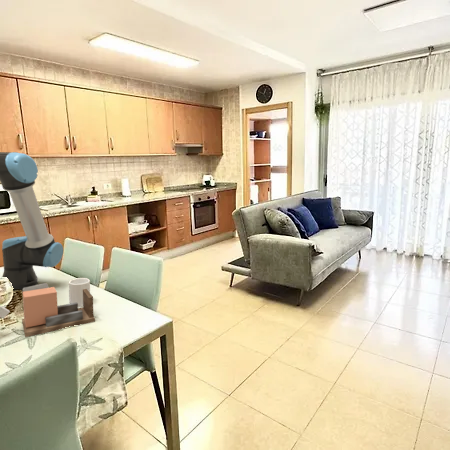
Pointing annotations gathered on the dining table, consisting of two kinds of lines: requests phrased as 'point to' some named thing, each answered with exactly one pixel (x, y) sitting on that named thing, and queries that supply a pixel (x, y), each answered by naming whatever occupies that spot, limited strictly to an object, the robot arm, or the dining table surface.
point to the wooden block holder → (65, 317)
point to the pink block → (39, 305)
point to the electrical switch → (36, 287)
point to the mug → (78, 290)
